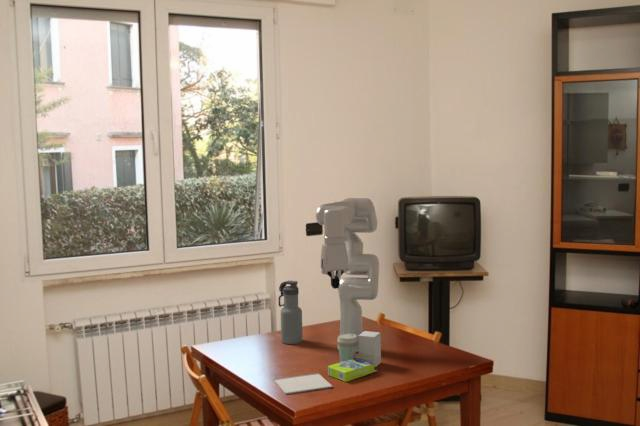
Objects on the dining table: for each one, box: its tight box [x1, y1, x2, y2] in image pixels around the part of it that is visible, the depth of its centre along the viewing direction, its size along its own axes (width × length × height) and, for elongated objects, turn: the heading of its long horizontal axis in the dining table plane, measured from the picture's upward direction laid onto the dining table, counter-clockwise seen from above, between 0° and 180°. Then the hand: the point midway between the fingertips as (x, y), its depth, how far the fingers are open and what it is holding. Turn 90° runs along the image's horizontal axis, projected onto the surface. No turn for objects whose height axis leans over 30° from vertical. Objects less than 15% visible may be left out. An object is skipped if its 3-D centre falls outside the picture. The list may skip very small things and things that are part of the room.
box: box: [327, 357, 378, 383], centre depth 254 cm, size 10×4×17 cm
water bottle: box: [277, 279, 303, 345], centre depth 298 cm, size 10×10×28 cm
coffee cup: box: [336, 333, 358, 363], centre depth 264 cm, size 8×9×12 cm
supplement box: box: [357, 330, 382, 368], centre depth 265 cm, size 7×7×13 cm
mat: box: [273, 372, 334, 396], centre depth 244 cm, size 18×16×1 cm
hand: (335, 287), depth 252 cm, fingers closed
